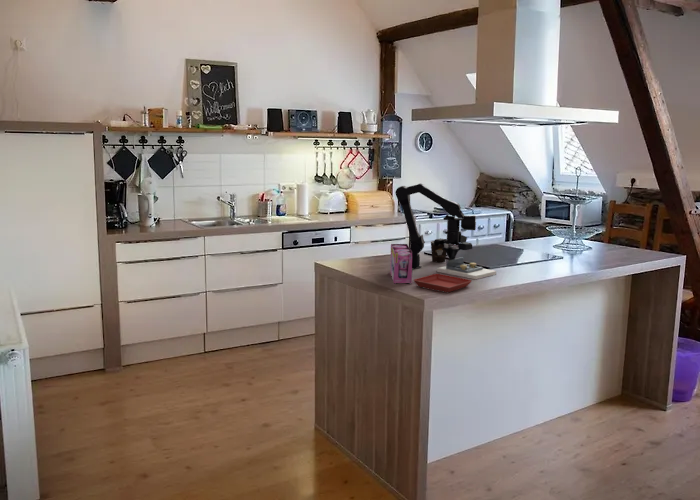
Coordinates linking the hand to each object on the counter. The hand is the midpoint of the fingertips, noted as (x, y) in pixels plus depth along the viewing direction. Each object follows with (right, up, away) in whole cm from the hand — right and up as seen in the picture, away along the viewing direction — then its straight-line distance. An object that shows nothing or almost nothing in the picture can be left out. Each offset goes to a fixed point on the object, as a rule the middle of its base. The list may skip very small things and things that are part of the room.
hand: (452, 262), depth 295 cm
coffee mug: (-2, 0, +20) cm, 20 cm away
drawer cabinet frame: (+5, -3, -5) cm, 8 cm away
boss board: (+6, -5, -5) cm, 9 cm away
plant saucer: (-9, -10, -33) cm, 36 cm away
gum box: (-26, -7, -18) cm, 32 cm away
